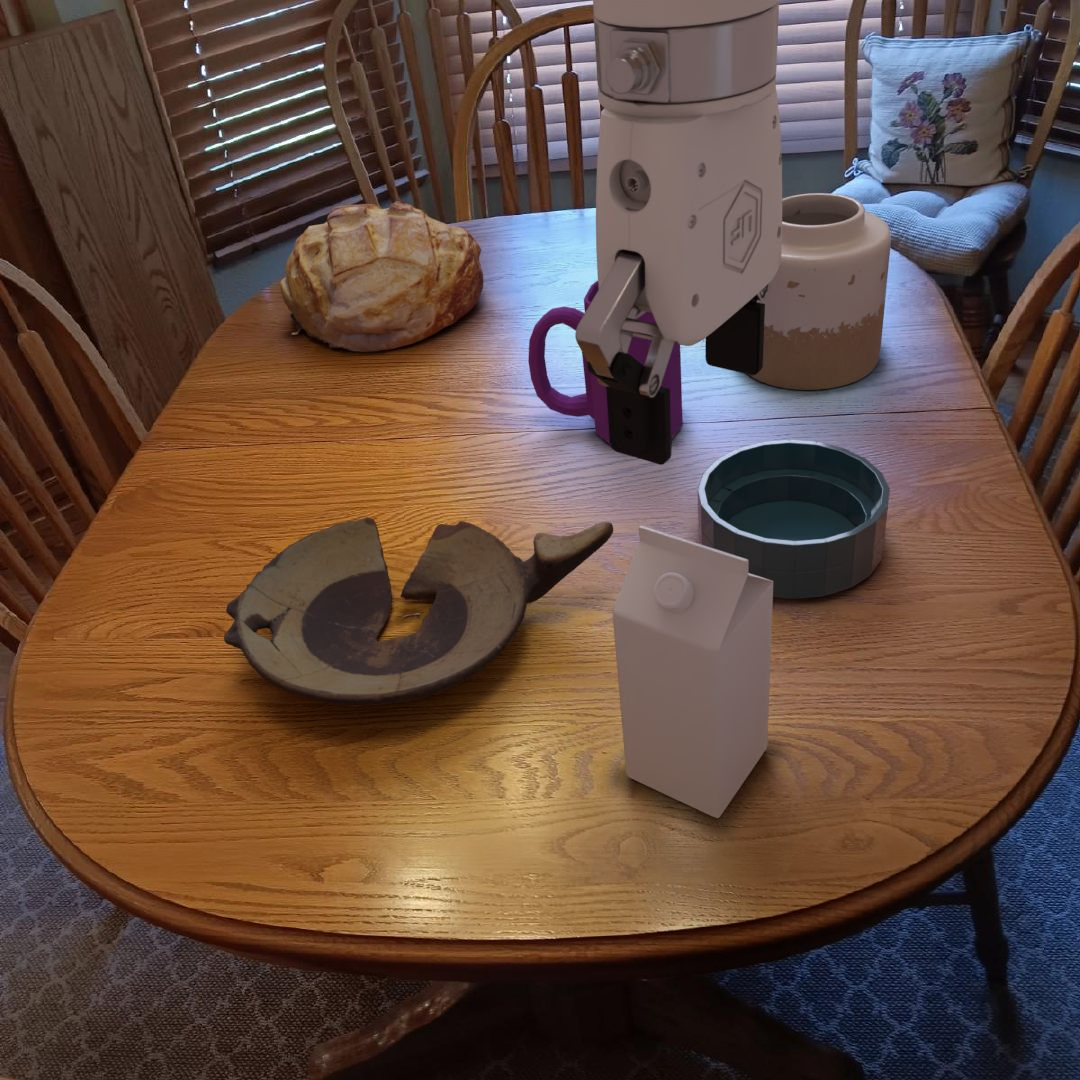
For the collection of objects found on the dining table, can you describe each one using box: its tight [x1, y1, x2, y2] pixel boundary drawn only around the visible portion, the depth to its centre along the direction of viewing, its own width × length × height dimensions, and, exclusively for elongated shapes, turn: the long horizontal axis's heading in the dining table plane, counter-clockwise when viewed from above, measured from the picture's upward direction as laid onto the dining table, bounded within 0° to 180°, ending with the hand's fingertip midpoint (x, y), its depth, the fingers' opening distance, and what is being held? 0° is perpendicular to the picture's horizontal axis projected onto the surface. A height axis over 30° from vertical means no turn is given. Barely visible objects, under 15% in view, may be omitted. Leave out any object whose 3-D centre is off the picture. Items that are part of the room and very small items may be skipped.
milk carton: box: [612, 524, 774, 819], centre depth 66 cm, size 7×7×19 cm
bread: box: [279, 199, 484, 353], centre depth 134 cm, size 25×27×15 cm
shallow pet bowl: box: [697, 439, 891, 600], centre depth 88 cm, size 15×15×6 cm
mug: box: [528, 280, 684, 444], centre depth 104 cm, size 9×16×15 cm, turn 75°
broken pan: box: [223, 516, 614, 707], centre depth 82 cm, size 22×30×8 cm
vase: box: [747, 192, 892, 391], centre depth 111 cm, size 15×15×17 cm
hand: (689, 409), depth 54 cm, fingers open, 9 cm apart
